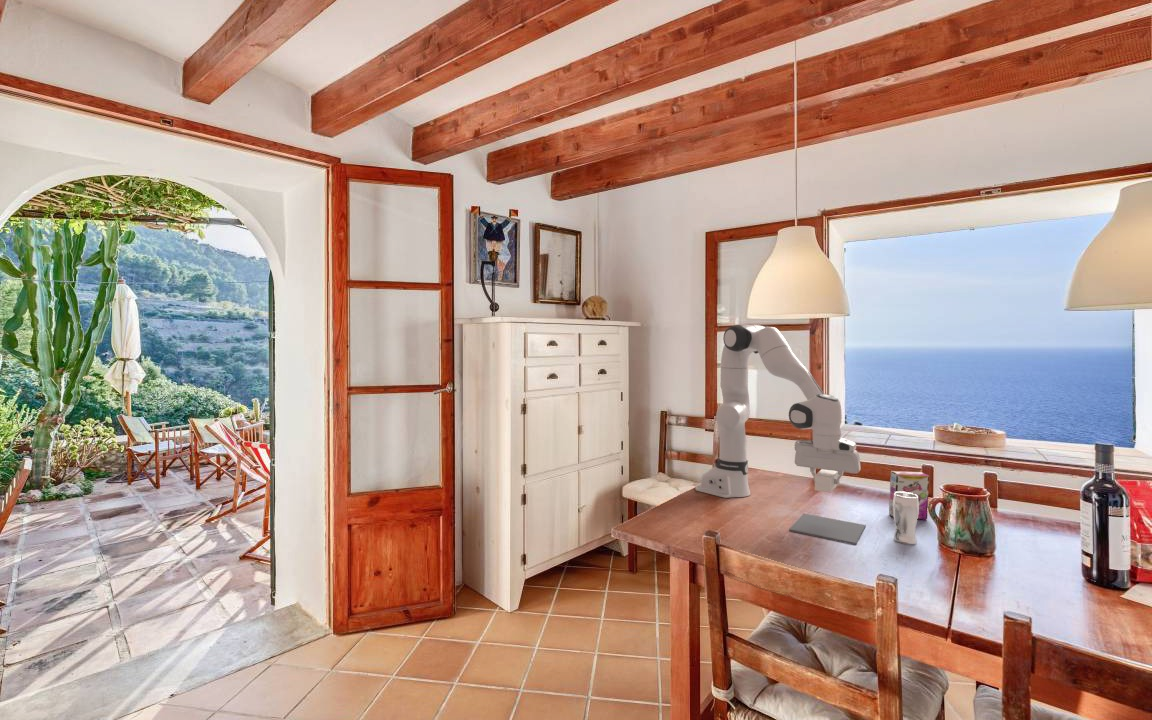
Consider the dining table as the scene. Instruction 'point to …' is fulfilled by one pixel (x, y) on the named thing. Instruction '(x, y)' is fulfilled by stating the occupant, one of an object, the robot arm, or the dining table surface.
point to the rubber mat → (828, 528)
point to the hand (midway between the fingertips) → (826, 482)
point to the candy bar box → (910, 489)
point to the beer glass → (905, 517)
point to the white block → (825, 480)
